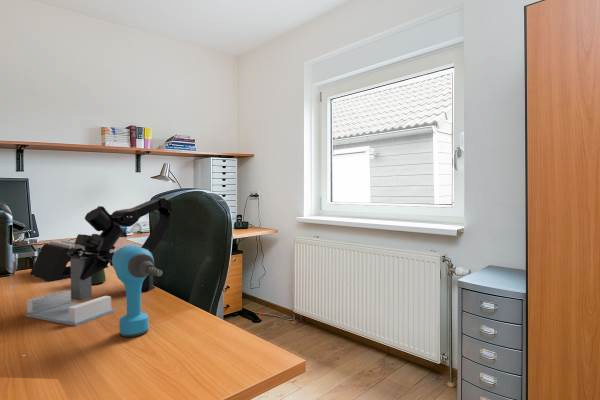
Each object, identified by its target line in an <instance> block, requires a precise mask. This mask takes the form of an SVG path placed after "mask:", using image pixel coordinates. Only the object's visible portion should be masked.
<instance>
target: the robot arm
mask: <svg viewBox="0 0 600 400" xmlns="http://www.w3.org/2000/svg"><path fill="white" fill-rule="evenodd" d="M171 202H172V201H170V200H167V199H166V198H164V197H153V198H152V199H150V200H148V201H145V202H143V203H141V204H140V203H139V205H136V206H133V207H131V208H124V209H118V210H115V211H113V212H112V214H110V213H109V211H107V209H106V208H105V207H104V206H102V205H101V206H99V205H98V206H97V207H96V208H94V209H92V210H90V211H88V212H87V213H86V215H85V216H84V220H85V221H86V223H88V224H89V226H91V227H92V228H93V229H94V230H95V231H96V232H100V233H99V234H98V233H92V234H91V235H89V234H81V233H80V234H77V235H76V239H75V240H74V242H75V243H74V244H76V245H81V246H84V249H85V250H87V251H88V252H87V253H86V252H85V251H84V250H83V249H82V248H70V250H69V251H68V252H67V254H68V255H69V256H71V257H72V258H77V257H91V261H90V264H89V266H88V267H87V269H86V270H85V272H84V273H83V275H82V277H81V279H82V280H85V279H87V278H88V277H90V276H92V275H94V274H95V273H97V272H99V271H101V270H103V269H104V270H105V269H108V268H109V265H110V267H113V265H112V257H113V255H114V253H115V251H114V250H115V249H116V246H115V245H116V243H117V242H118V240H119V239H120V238H127V237H128V234H127V230H126V229H123V228H122V227H128V228H129V227H132V226H134V225H135V224H136V223H138V222H139V220H140V218H142V217H144V216H146V215H148V214H150V213H152V212H155V211H156V212H158V217H159V218H158V221H157V222H156V224H155V226H154V227H153V229H152V230H151V232H150V234H149V235H148V236H147V238H146V239H145V241H144V243H143V244H142V245H141V246H140V247H141V248H144V249H146V250H148V251H149V252H150V253H151V254H152V256H153V257H154V252H155V250H156V249H157V248H158V246H159V244H160V243H161V241H162V239H163V238H164V236H165V235H166V233H167V231H168V229H169V228H170V227H171V225H169V222H170V213H169V212H168V210H170V211H172V209H171ZM154 266H155V268H157V269H158V266H156V265H155V264H154ZM153 287H154V288H156V286H155V285H154V275H153V274H149V275H148V276H147V277H146V278H145V279H144V281H143V283H142V288H141V292H149V291H150V289H151V290H153V289H154V288H153ZM152 288H153V289H152Z"/></svg>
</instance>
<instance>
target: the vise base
mask: <svg viewBox="0 0 600 400" xmlns="http://www.w3.org/2000/svg"><path fill="white" fill-rule="evenodd" d="M115 312H116V309H115V308H112V296H109V295H104V296H99V297H97V298H94V299H90V300H87V301H84V302H73V301H71V302H70V303H67V304H63V305H60V306H57V307H53V308H50V309H47V310H44V311H40V312H37V313H34V314H31V313H27V312H25V317H28V318H33V319H37V320H38V319H39V320H42V321H47V322H54V323H58V324H63V325H68V326H74V327H78V326H80V325H82V324H85V323H88V322H91V321H93V320H95V319H98V318H101V317H103V316H106V315H108V314H113V313H115Z"/></svg>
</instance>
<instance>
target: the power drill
mask: <svg viewBox="0 0 600 400" xmlns="http://www.w3.org/2000/svg"><path fill="white" fill-rule="evenodd" d="M141 247H142V246H138V245H137V246H136V245H126V246H122V247H120V248H118V249H117V250H115V251H114V255H113V257H112V265H113V266H112V268H113V269H114V272H115V274H116V275H115V276H116V277H117V279H118V280H119V281H121V283H123V286H124V289H125V295H126V314H124V315H122V316H120V318H119V319H118V320H119V334H120V336H122V337H124V338H133V337H138V336H141V335H144V334H146V333H147V332H148V331H149V329H150V327H149V323H150V322H149V321H150V320H149V315H148V314H147V313H146V312H142V291H141V288H142V283H143V281H144V279H145V278H146V277H147V276H148V275H149V274H153V276H155V277H161V276H163V270H161V269H159V268H158V267H157V268H155V266H156V265H155V262H154V261H155V260H154V255H153V256H152V254H151V253H150V252H149V251H148V250H146V249H144V248H141ZM154 265H155V266H154Z"/></svg>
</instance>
